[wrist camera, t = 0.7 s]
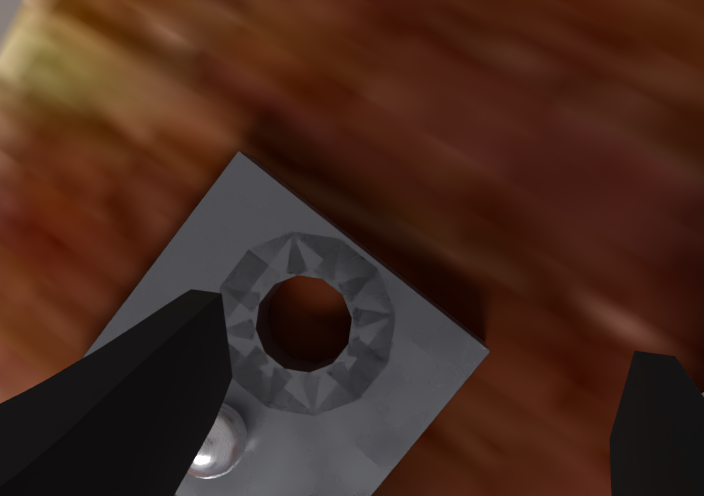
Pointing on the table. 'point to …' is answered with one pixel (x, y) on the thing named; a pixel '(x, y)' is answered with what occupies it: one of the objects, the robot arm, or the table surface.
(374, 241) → the table surface
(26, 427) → the robot arm
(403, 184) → the table surface
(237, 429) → the steel ball
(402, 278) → the hole plate
